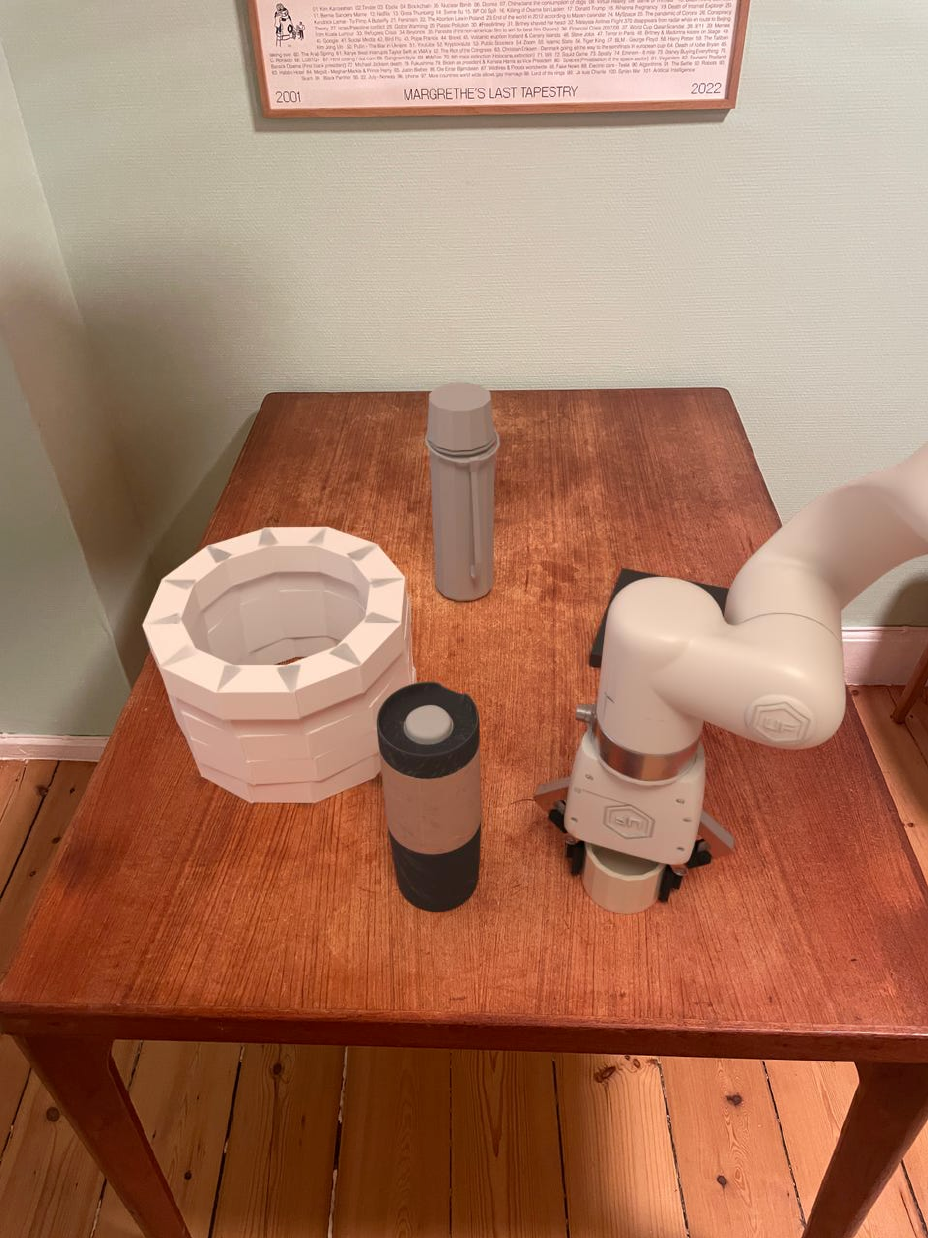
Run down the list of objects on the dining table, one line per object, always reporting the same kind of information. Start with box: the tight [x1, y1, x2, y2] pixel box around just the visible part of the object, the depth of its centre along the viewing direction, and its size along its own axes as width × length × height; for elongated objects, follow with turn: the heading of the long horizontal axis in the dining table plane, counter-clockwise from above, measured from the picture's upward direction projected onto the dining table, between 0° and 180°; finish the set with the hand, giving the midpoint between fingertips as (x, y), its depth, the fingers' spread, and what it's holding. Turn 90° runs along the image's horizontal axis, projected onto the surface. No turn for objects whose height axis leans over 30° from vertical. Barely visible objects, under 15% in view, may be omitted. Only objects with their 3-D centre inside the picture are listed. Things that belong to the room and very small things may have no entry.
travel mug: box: [377, 680, 483, 913], centre depth 71 cm, size 8×8×20 cm
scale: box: [588, 567, 730, 669], centre depth 100 cm, size 14×16×4 cm
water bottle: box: [424, 382, 501, 603], centre depth 99 cm, size 9×8×25 cm
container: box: [141, 526, 418, 805], centre depth 87 cm, size 25×24×16 cm
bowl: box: [580, 841, 667, 915], centre depth 75 cm, size 7×7×5 cm
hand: (622, 873), depth 76 cm, fingers closed on bowl, 7 cm apart
